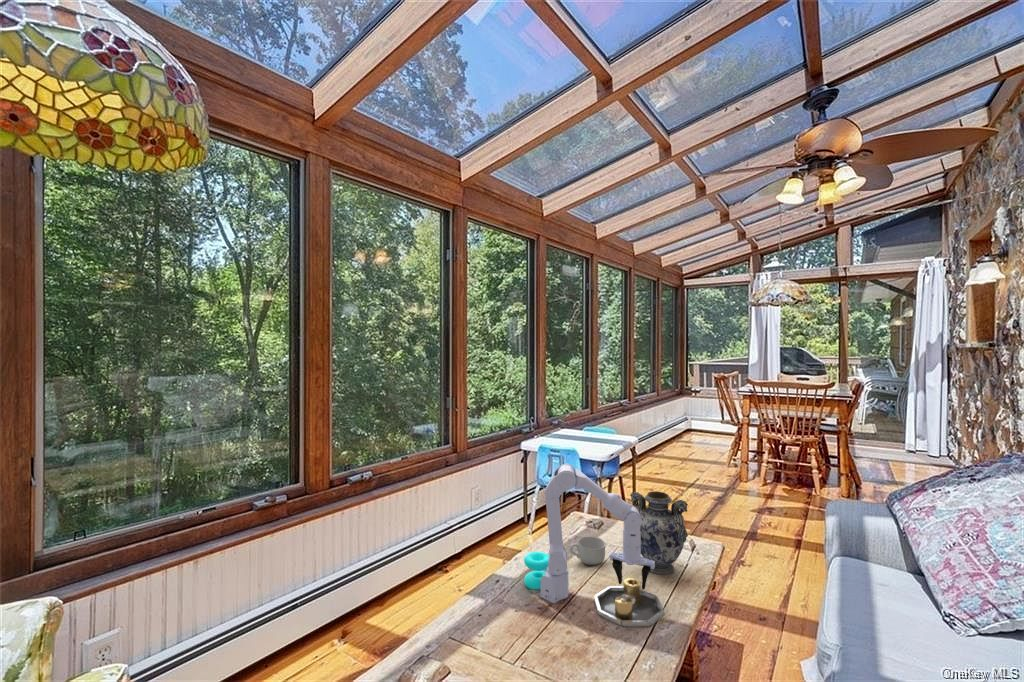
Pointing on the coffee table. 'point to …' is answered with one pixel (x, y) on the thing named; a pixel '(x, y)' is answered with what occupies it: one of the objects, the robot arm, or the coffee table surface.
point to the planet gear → (633, 588)
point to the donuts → (535, 568)
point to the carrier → (628, 607)
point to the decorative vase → (661, 529)
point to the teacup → (590, 550)
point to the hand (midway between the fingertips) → (631, 585)
